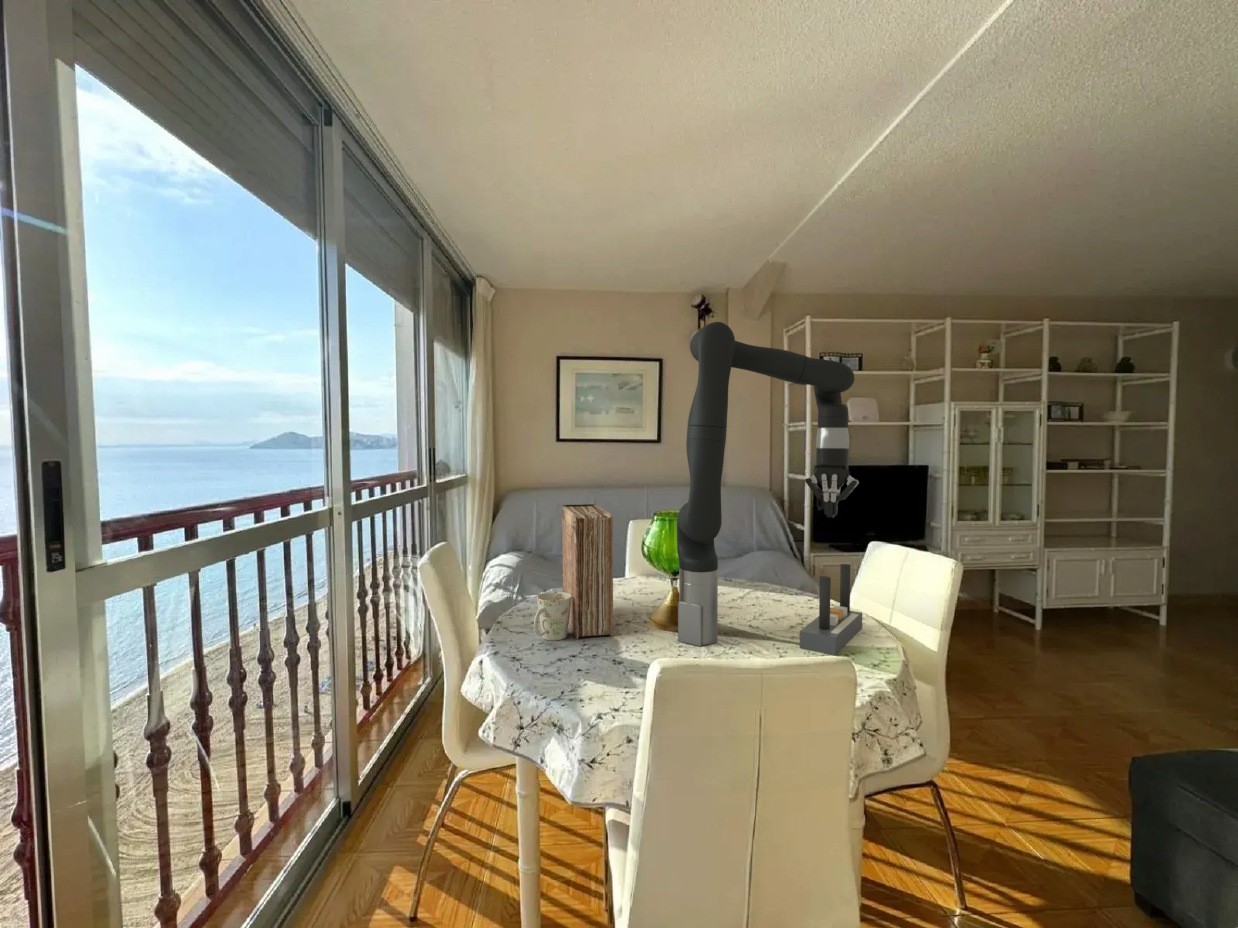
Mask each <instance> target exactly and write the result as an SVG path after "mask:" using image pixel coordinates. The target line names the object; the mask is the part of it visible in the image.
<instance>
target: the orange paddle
mask: <svg viewBox="0 0 1238 928" xmlns="http://www.w3.org/2000/svg"><path fill="white" fill-rule="evenodd" d="M830 614H835V615H838V620H841V619H842V618H843V610H840V609H834V608H833V607H830Z"/></svg>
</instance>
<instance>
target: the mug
mask: <svg viewBox="0 0 1238 928" xmlns="http://www.w3.org/2000/svg"><path fill="white" fill-rule="evenodd" d="M536 600H537V608H538V609H537V611H536V614H535V616H534V619H533V630H534V633H535V636H538V637H542V639H544V640H546V641H560V640H564V639H566V638H567V637H568V630H569V615H570V607H571V595H570V594H568V593H564V592H563V591H550V592H544V593H540V594H538V595H537V598H536ZM538 623H540V624H538ZM538 625H540V629H541V631H540V630H539V626H538Z"/></svg>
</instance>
